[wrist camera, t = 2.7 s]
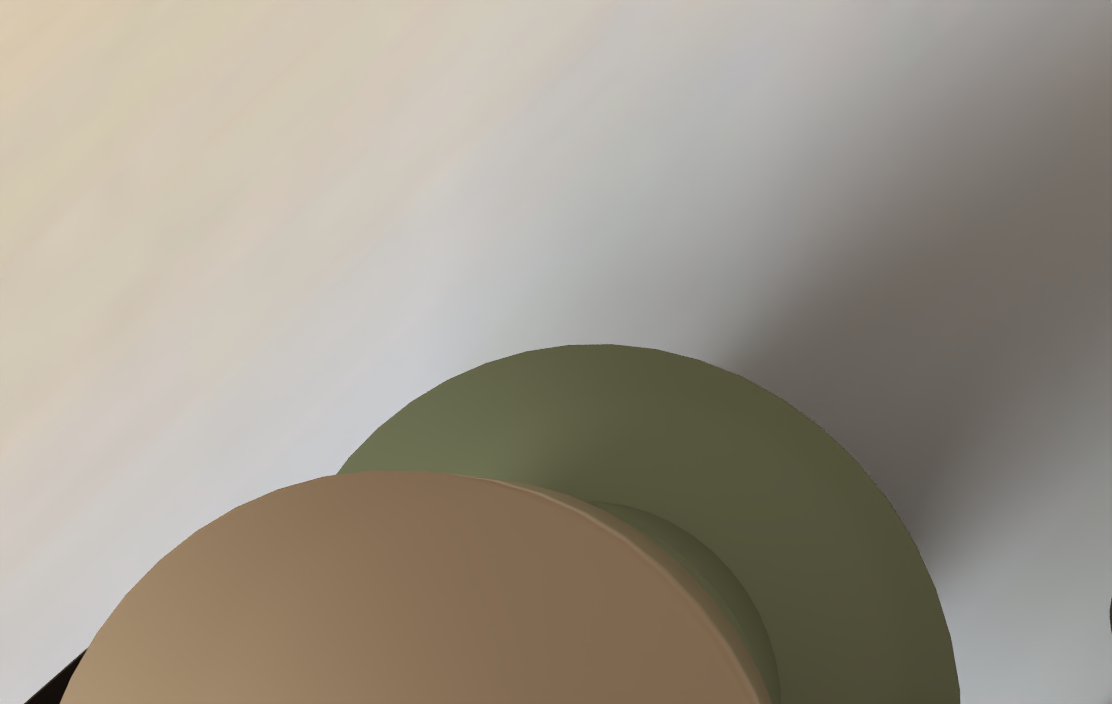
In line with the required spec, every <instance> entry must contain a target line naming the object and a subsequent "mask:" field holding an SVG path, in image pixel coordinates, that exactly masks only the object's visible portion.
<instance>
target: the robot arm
mask: <svg viewBox="0 0 1112 704" xmlns="http://www.w3.org/2000/svg"><path fill="white" fill-rule="evenodd" d="M1110 625H1111V631H1112V599H1111V605H1110ZM87 649H88V648H87ZM87 649H86V650H85V651H83V652H82V653H81V654H80V655H79V656H78V657H77V658H76V659H74V660H73V661H72V662H71V663H70V664H69V665H68V666H66V667H65V668H64V669H63V670H62V671H61V672H60V673H58V674H57V675H56V676H55V677H54V678H53V679H52V680H50V681H49V682H48V683H47V684H46V685H45V686H44V687H42V688H41V689H40V690H39V691H38V692H37V693H36V694H34V695H33V696H32V697H31V698H30V699H29V700H28V701H27V702H25V703H24V704H60V702H61V700H62V697H63V695H64V693H65V690H66V688H67V686H68V684H69V681H70V679H71V677H72V675H73V673H74V671H75V670H76V668H77V666H78V665H79V663H80V661H81V659H82V658H83V656H84V654H85V653H86V651H87Z"/></svg>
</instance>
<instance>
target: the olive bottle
mask: <svg viewBox="0 0 1112 704" xmlns="http://www.w3.org/2000/svg"><path fill="white" fill-rule="evenodd" d="M60 704H960V688H959V682H958V676H957V671H956V665H955V659H954V653H953V647H952V642H951V636H950V633H949V630H948V627H947V624H946V620H945V617H944V614H943V611H942V607H941V604H940V601H939V598H938V595H937V591H936V588H935V586H934V584H933V582H932V579H931V577H930V575H929V573H928V571H927V569H926V566H925V564H924V562H923V560H922V558H921V555H920V553H919V551H918V549H917V547H916V544H915V542H914V541H913V539H912V537H911V536H910V534H909V533H908V531H907V529H906V528H905V526H904V525H903V523H902V521H901V520H900V518H899V516H898V515H897V513H896V512H895V510H894V508H893V507H892V505H891V504H890V502H889V500H888V499H887V498H886V496H885V495H884V494H883V493H882V492H881V490H880V489H879V488H878V487H877V485H876V484H875V483H874V482H873V481H872V479H871V478H870V477H869V476H868V474H867V473H866V472H865V471H864V470H863V468H862V467H861V466H860V465H859V463H858V462H857V461H856V460H855V459H854V458H853V457H852V456H851V455H850V454H849V453H848V452H847V451H846V450H844V449H843V448H842V447H841V446H840V445H839V444H838V443H837V442H836V441H835V440H834V439H833V438H832V437H831V436H830V435H829V434H828V433H827V432H825V431H824V430H823V429H822V428H821V427H820V426H819V425H817V424H816V423H814V422H813V421H812V420H810V419H809V418H808V417H806V416H805V415H804V414H802V413H801V412H799V411H798V410H797V409H795V408H794V407H793V406H791V405H790V404H788V403H787V402H786V401H784V400H783V399H781V398H779V397H778V396H776V395H774V394H772V393H770V392H769V391H767V390H765V389H763V388H761V387H759V386H758V385H756V384H754V383H752V382H750V381H749V380H747V379H745V378H743V377H741V376H739V375H736V374H733V373H731V372H728V371H726V370H723V369H721V368H718V367H716V366H713V365H710V364H708V363H705V362H703V361H700V360H697V359H693V358H689V357H685V356H681V355H677V354H673V353H669V352H665V351H661V350H657V349H649V348H640V347H631V346H622V345H613V344H603V345H566V346H560V347H553V348H546V349H540V350H533V351H527V352H523V353H520V354H516V355H513V356H509V357H506V358H502V359H499V360H495V361H492V362H488V363H485V364H483V365H481V366H478V367H476V368H474V369H472V370H469V371H467V372H465V373H462V374H460V375H458V376H456V377H453V378H451V379H449V380H447V381H445V382H443V383H442V384H440V385H438V386H437V387H435V388H433V389H432V390H430V391H428V392H427V393H425V394H423V395H422V396H420V397H418V398H417V399H415V400H413V401H412V402H410V403H409V404H408V405H407V406H405V407H404V408H403V409H401V410H400V411H399V412H398V413H396V414H395V415H394V416H393V417H391V418H390V419H389V420H388V421H386V422H385V423H384V424H383V425H381V426H380V427H379V428H378V429H377V430H376V431H375V432H374V433H373V434H372V435H371V436H370V437H369V438H368V439H367V440H366V441H365V442H364V443H363V444H362V445H361V446H360V447H359V448H358V449H357V450H356V451H355V452H354V453H353V454H352V455H351V456H350V457H349V458H348V460H347V461H346V462H345V464H344V465H343V466H342V468H341V469H340V470H339V472H338V473H337V474H336V475H333V476H325V477H321V478H317V479H313V480H310V481H306V482H303V483H299V484H295V485H292V486H288V487H285V488H281V489H278V490H275V491H273V492H271V493H268V494H266V495H264V496H262V497H259V498H257V499H255V500H252V501H250V502H248V503H245V504H243V505H241V506H238V507H236V508H234V509H233V510H231V511H229V512H228V513H226V514H224V515H223V516H221V517H219V518H218V519H216V520H214V521H213V522H211V523H209V524H208V525H206V526H204V527H203V528H201V529H199V530H198V531H196V532H195V533H193V534H192V535H191V536H190V537H188V538H187V539H186V540H185V541H183V542H182V543H181V544H180V545H178V546H177V547H176V548H175V549H173V550H172V551H171V552H170V553H168V554H167V555H166V556H165V557H163V558H162V559H161V560H160V561H158V562H157V563H156V565H155V566H154V567H153V568H152V569H151V570H150V571H149V572H148V573H147V574H146V575H145V576H144V577H143V578H142V579H141V580H140V581H139V582H138V583H137V584H136V585H135V586H134V587H133V588H132V589H131V590H130V591H129V592H128V593H127V594H126V595H125V597H124V598H123V599H122V601H121V602H120V603H119V605H118V606H117V607H116V609H115V610H114V611H113V613H112V614H111V615H110V617H109V618H108V619H107V621H106V622H105V623H104V625H103V626H102V627H101V629H100V630H99V631H98V632H97V634H96V636H95V637H94V639H93V641H92V642H91V644H90V646H89V647H88V649H87V651H86V653H85V654H84V656H83V658H82V659H81V661H80V663H79V665H78V666H77V668H76V670H75V671H74V673H73V675H72V677H71V679H70V681H69V684H68V686H67V688H66V690H65V693H64V695H63V697H62V700H61V702H60Z"/></svg>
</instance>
